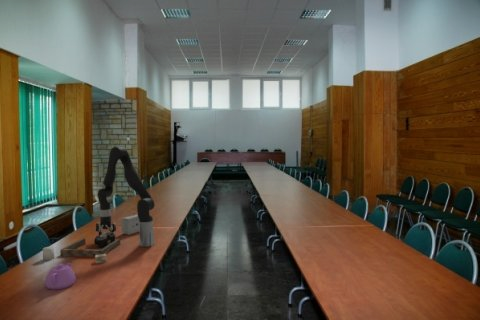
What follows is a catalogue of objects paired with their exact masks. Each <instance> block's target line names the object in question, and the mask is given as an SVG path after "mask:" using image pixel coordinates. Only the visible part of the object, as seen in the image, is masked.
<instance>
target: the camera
mask: <svg viewBox="0 0 480 320" xmlns="http://www.w3.org/2000/svg"><path fill="white" fill-rule="evenodd" d="M115 240H116V233H115V232H110V231H105V232H103V233H102V234H101V235H100V236H99V235H96V236H95V238H94V240H93V241H94V242H93V243H94V244H95V245H97V250H101V249H103V248H104V247H106V246H107V245H109V244H111V243H112V242H114V241H115Z"/></svg>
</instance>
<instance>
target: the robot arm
mask: <svg viewBox="0 0 480 320" xmlns="http://www.w3.org/2000/svg"><path fill="white" fill-rule="evenodd" d="M118 161H120V162H121V164H122V166H123V173H124V178H125V181H126V183H127V184H128V186H129V187H130V189H132V190H133V192H135V193H136V194H137V195H138V197H140V199H139V200H138V201H137V205H136V206H137V207H136V209H137V211H136V213H138V218H139V232H138V235H139V236H138V237H139V247H142V248H143V247H144V248H147V247H152V246H154V245H155V230H154V223H153V221H154V218H153V216H152V215H150V211H152V210H153V209H154V208H155V201H154V198H152V196H151V195H150V193H149V191H148V189H147V188H146V186H145V185H144V183H143V181H142V179H141V177H140V174H139V173H138V171H137V170H136V167H135V166H134V164H133V161H132V160H131V157H130V155H129V152H128V150H127V149H126V148H125V147H124V146H113V147H112V148H111V149H110V152H109V156H108V162H107V168H106V173H105V175H104V179H103V181H102V184H103V186H104V187H103V188H100V189H98V191H97V198H98V201H99V221H100V222H97V223H96V224H95V231H96V232H98V236H100V235H101V234H102V231H103V230H108V231H109V232H113V233H115V232H116V231H117V226H116V222H113V223H112V210H111V209H112V207H111V202H110V201H109V200H108V199H107V198H110V197H111V196H112V194H113V192H114V183H115V179H117V178H116V176H117V169H116V166H117V163H118Z"/></svg>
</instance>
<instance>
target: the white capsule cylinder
mask: <svg viewBox="0 0 480 320" xmlns="http://www.w3.org/2000/svg"><path fill="white" fill-rule="evenodd" d="M52 259H53V260H54V259H55V247H54V246H46V247H43V248H42V260H43V261H46V262H49V261H53V260H52Z"/></svg>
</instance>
